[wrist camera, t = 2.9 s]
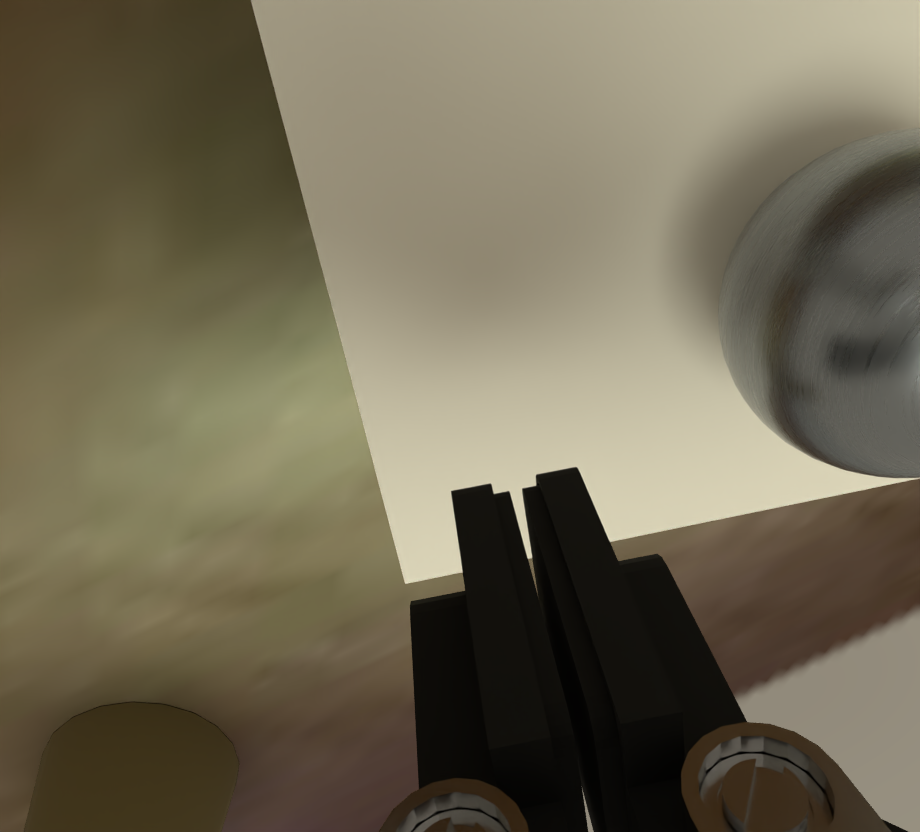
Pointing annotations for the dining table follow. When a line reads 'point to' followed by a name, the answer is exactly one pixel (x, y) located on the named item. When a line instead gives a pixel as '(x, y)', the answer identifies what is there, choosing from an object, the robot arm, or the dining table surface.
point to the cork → (134, 773)
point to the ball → (834, 307)
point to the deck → (566, 234)
